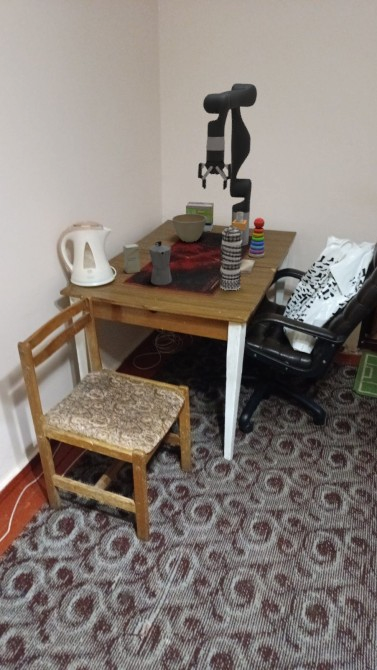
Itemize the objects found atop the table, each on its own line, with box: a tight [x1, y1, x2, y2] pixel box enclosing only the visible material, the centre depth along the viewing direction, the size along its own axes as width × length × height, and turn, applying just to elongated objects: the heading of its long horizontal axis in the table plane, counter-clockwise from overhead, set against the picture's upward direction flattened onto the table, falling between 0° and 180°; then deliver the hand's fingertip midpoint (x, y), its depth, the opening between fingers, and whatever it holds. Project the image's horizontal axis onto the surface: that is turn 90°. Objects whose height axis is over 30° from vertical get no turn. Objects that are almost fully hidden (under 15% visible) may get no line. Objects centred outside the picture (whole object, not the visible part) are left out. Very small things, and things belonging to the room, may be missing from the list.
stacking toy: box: [248, 217, 266, 259], centre depth 222 cm, size 8×8×19 cm
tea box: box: [185, 201, 215, 233], centre depth 265 cm, size 15×10×15 cm, turn 80°
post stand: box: [219, 212, 256, 275], centre depth 206 cm, size 14×14×26 cm
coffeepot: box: [148, 240, 173, 286], centre depth 195 cm, size 15×9×18 cm, turn 13°
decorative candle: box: [219, 226, 244, 291], centre depth 186 cm, size 9×9×25 cm
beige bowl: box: [171, 213, 206, 243], centre depth 247 cm, size 18×18×12 cm
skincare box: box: [122, 243, 141, 274], centre depth 207 cm, size 6×4×12 cm
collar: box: [231, 220, 247, 230], centre depth 203 cm, size 6×6×3 cm
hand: (214, 188), depth 196 cm, fingers open, 8 cm apart
